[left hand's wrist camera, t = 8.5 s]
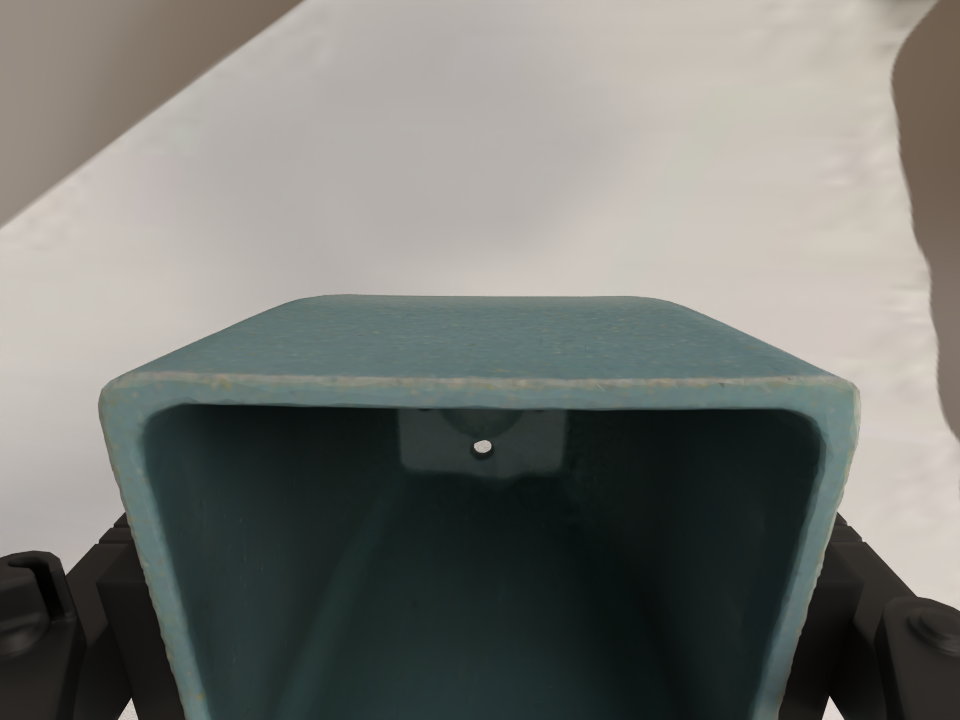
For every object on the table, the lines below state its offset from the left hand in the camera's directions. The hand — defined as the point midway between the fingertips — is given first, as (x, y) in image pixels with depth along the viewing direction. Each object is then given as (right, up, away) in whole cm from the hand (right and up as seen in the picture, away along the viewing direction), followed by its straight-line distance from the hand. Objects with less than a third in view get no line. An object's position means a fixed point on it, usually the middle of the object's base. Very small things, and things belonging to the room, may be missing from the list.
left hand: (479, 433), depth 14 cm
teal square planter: (0, +1, +2) cm, 2 cm away
